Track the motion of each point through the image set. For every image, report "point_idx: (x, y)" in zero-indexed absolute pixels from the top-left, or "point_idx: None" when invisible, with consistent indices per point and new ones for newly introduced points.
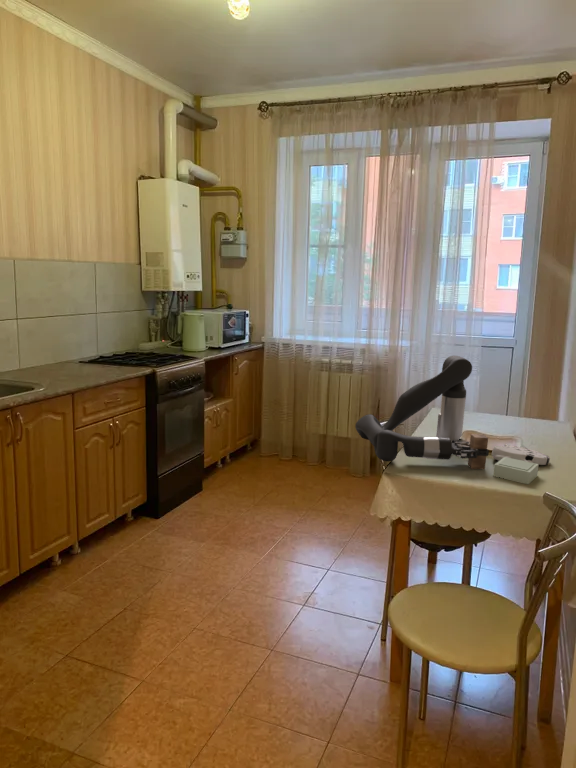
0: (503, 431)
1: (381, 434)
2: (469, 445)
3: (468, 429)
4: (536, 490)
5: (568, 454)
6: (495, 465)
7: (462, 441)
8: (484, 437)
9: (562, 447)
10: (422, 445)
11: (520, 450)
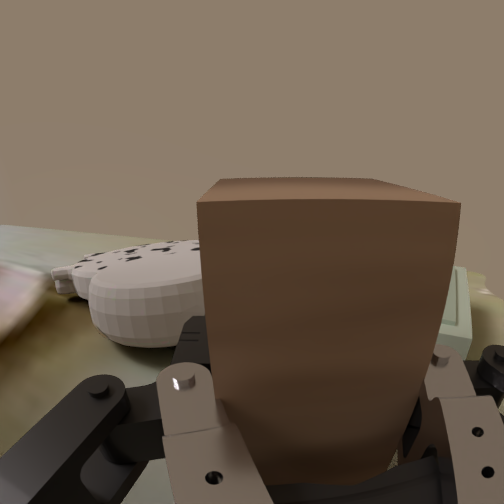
0: None
1: None
2: (221, 413)
3: None
4: (492, 305)
5: (125, 236)
6: (470, 340)
7: (40, 434)
8: (367, 181)
9: (82, 236)
10: None
11: (143, 256)
